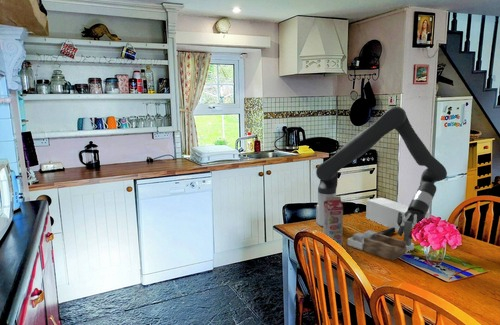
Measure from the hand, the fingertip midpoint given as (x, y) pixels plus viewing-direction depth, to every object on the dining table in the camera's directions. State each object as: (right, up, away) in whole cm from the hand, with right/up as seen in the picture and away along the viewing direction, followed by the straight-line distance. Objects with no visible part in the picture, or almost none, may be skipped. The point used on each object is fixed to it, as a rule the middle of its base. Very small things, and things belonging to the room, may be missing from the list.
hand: (405, 236), depth 153 cm
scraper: (+2, -6, +2) cm, 7 cm away
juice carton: (-28, -6, +10) cm, 31 cm away
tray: (-16, -6, +9) cm, 19 cm away
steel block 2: (-13, -3, +5) cm, 14 cm away
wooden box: (-9, -7, 0) cm, 11 cm away
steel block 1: (-15, -3, +8) cm, 17 cm away
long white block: (+9, -2, +34) cm, 36 cm away
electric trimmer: (-2, -4, +19) cm, 20 cm away
